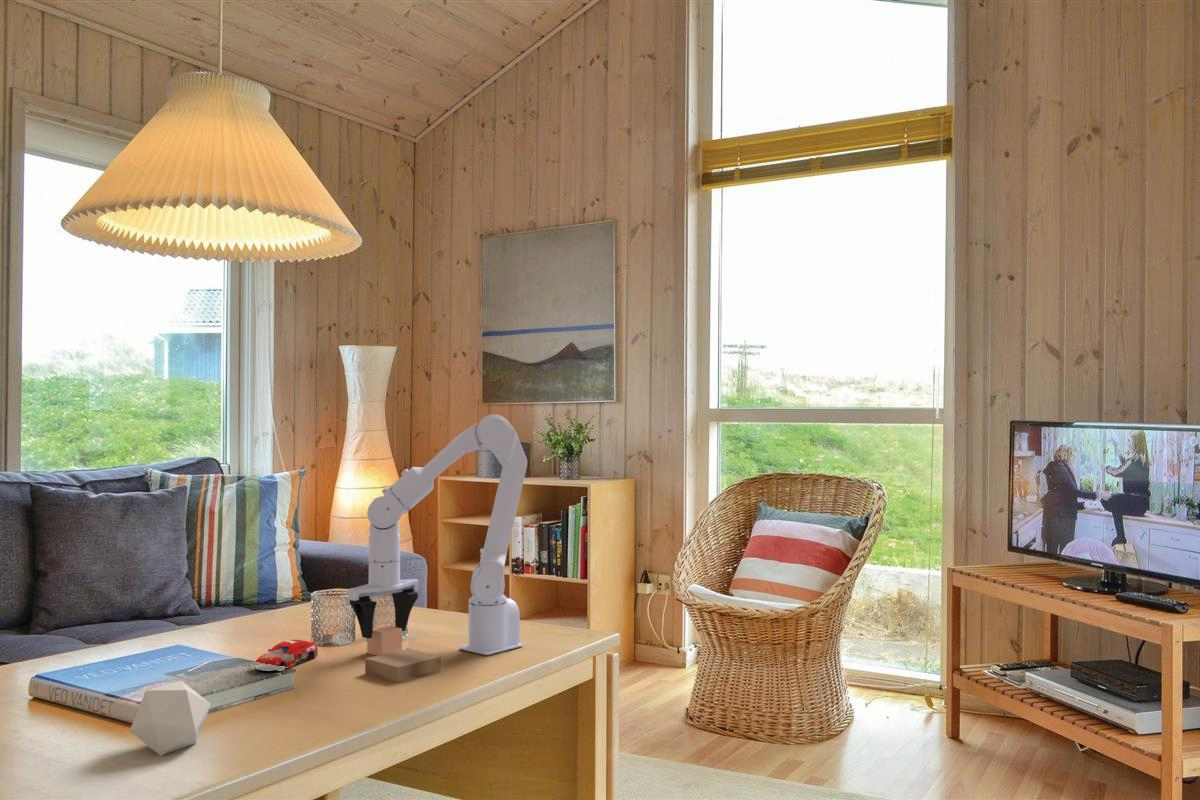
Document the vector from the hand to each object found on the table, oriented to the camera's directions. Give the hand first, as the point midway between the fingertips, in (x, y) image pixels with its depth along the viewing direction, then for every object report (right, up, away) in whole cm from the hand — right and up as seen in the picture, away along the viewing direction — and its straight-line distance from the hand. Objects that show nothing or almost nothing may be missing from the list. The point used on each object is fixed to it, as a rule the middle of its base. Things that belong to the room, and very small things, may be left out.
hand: (384, 633), depth 174 cm
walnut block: (+7, -4, -14) cm, 16 cm away
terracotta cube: (0, -4, 0) cm, 4 cm away
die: (-17, -3, -50) cm, 53 cm away
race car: (-15, -4, -8) cm, 18 cm away
